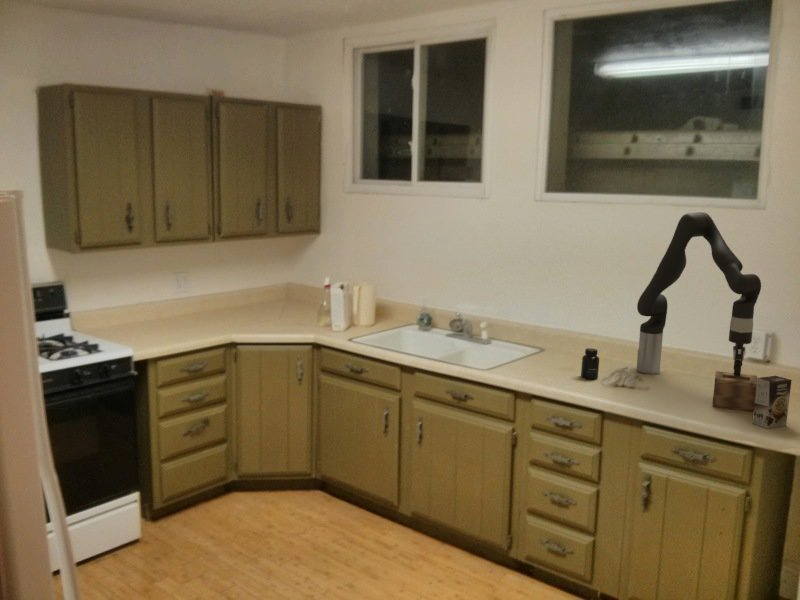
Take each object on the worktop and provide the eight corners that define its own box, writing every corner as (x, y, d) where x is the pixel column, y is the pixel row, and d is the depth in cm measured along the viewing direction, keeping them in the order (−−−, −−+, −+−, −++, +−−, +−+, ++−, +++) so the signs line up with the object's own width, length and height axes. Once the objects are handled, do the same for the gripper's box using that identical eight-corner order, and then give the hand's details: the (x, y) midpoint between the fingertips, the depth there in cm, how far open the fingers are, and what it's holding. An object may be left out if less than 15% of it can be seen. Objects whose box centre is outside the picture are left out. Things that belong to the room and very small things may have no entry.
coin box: (712, 406, 266) (715, 379, 264) (713, 397, 276) (715, 371, 275) (755, 412, 260) (758, 384, 258) (754, 402, 271) (757, 375, 269)
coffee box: (767, 429, 243) (773, 382, 240) (751, 423, 249) (756, 377, 246) (787, 425, 247) (792, 379, 244) (770, 419, 252) (775, 374, 250)
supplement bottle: (591, 381, 296) (593, 352, 294) (577, 377, 301) (579, 349, 299) (601, 378, 300) (603, 349, 298) (587, 374, 305) (589, 346, 303)
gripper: (729, 324, 271) (725, 367, 274) (729, 332, 258) (725, 376, 261) (752, 326, 268) (747, 369, 271) (753, 334, 255) (748, 379, 258)
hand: (736, 372), depth 266 cm, fingers open, 8 cm apart
